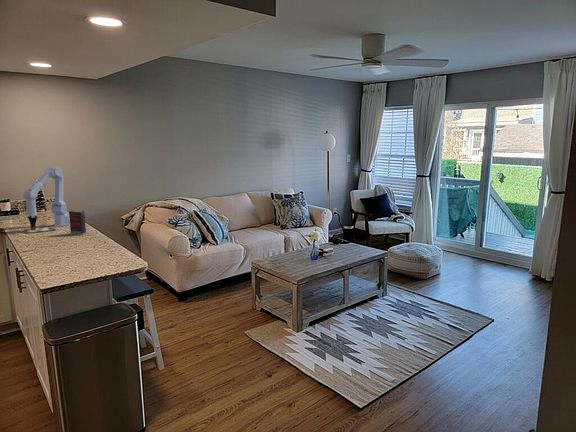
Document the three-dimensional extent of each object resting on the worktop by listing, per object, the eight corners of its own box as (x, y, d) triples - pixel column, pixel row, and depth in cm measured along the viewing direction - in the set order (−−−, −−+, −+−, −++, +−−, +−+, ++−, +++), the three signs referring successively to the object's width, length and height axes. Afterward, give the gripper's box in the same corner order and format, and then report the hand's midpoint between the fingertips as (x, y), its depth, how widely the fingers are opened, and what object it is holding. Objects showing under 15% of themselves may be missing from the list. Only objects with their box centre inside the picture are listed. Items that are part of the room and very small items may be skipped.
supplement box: (86, 233, 277) (84, 211, 274) (82, 234, 272) (80, 212, 270) (74, 232, 278) (73, 210, 275) (70, 234, 273) (68, 211, 270)
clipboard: (52, 227, 295) (52, 225, 294) (55, 230, 284) (55, 228, 284) (23, 230, 284) (23, 228, 283) (25, 233, 273) (25, 231, 273)
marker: (35, 229, 284) (34, 219, 283) (36, 229, 282) (35, 220, 281) (30, 229, 282) (29, 220, 281) (30, 230, 280) (30, 220, 279)
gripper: (23, 206, 283) (25, 225, 285) (25, 209, 271) (27, 228, 274) (35, 205, 287) (36, 224, 289) (37, 208, 276) (39, 227, 278)
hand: (33, 226), depth 282 cm, fingers closed on marker, 3 cm apart
